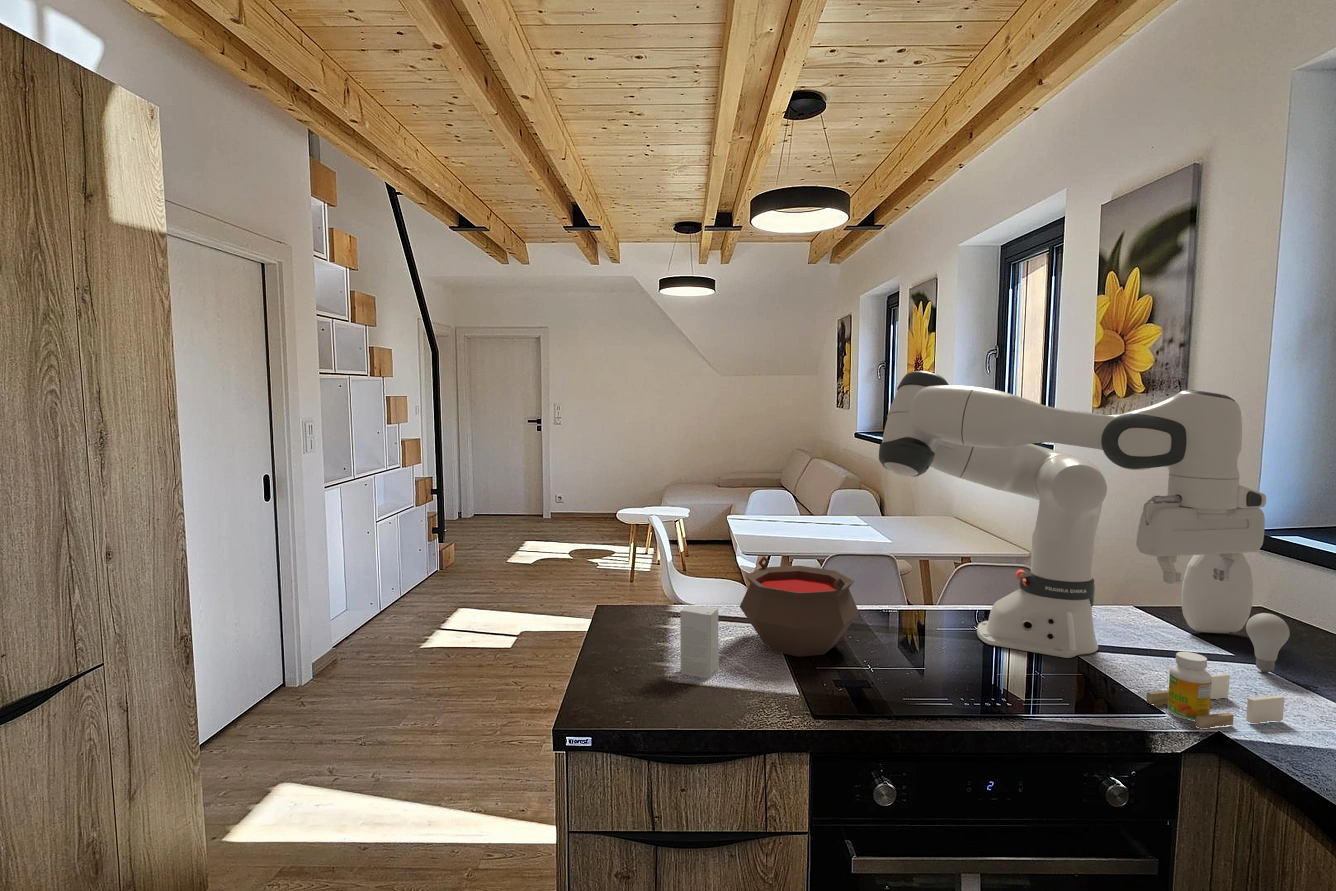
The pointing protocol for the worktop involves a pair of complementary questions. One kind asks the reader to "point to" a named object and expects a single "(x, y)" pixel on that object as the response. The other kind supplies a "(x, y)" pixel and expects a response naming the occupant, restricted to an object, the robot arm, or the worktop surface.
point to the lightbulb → (1267, 638)
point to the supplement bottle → (1189, 686)
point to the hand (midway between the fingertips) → (1196, 581)
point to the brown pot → (799, 608)
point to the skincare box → (699, 641)
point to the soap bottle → (1216, 595)
